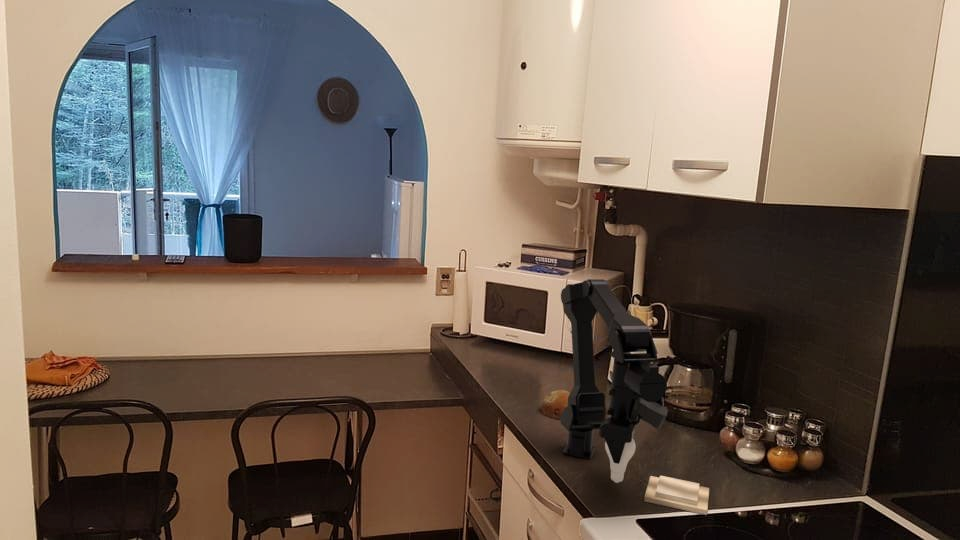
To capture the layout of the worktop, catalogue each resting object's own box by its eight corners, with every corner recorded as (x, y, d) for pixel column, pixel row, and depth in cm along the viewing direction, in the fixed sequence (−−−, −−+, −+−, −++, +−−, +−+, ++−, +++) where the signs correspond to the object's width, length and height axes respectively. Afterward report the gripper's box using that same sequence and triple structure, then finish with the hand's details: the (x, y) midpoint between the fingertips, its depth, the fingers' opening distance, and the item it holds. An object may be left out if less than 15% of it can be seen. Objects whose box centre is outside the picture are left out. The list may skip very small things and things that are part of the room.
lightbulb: (627, 476, 142) (632, 426, 140) (635, 490, 136) (640, 438, 134) (598, 474, 142) (603, 425, 140) (605, 488, 136) (610, 436, 134)
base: (650, 480, 145) (650, 471, 144) (708, 492, 141) (709, 483, 140) (644, 501, 135) (645, 491, 135) (706, 515, 131) (707, 505, 131)
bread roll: (570, 420, 186) (567, 391, 188) (587, 418, 176) (584, 387, 178) (537, 423, 183) (534, 393, 185) (553, 420, 173) (549, 389, 175)
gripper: (662, 406, 124) (654, 485, 127) (671, 377, 141) (663, 447, 144) (602, 395, 128) (595, 472, 130) (618, 369, 145) (611, 437, 148)
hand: (619, 457), depth 138 cm, fingers closed on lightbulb, 6 cm apart
